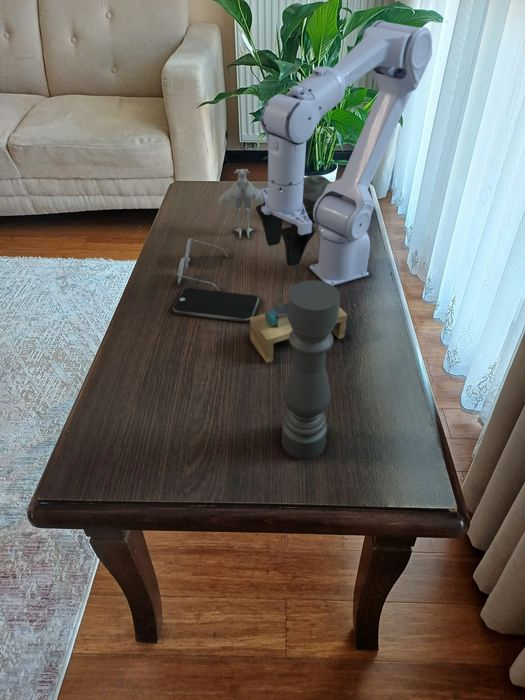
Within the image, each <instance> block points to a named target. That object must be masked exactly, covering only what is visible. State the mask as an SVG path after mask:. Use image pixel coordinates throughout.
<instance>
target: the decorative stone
mask: <svg viewBox="0 0 525 700" xmlns="http://www.w3.org/2000/svg"><path fill="white" fill-rule="evenodd" d="M329 183H332V182H331V181H330V180H329V179H328V178H327V177H325V176H322V175H318V174H312V175H308V176H306V177H305V176H304V187H303V204H304V207H305V210H306V213H307V215H308V218H309V219H310V220H311V221H314V219H313V209H314V206H315V203H316V202H317V200H318V199H319V198H320V197H321V195H322V194H323V192H324V191H325V188H326V186H327V185H328V184H329Z"/></svg>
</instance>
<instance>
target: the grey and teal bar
mask: <svg viewBox="0 0 525 700" xmlns="http://www.w3.org/2000/svg"><path fill="white" fill-rule="evenodd" d="M264 314H265V320H266V323H267V325H268V326H269V327H272V326H275V325H276V326H277V327H282V326H285V325H288V324H290V322H289V320H288V303H284V304H280V305H277V306H274V307H271V310H270V311H267V312H265V313H264Z"/></svg>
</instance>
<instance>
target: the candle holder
mask: <svg viewBox="0 0 525 700" xmlns="http://www.w3.org/2000/svg"><path fill="white" fill-rule="evenodd" d="M287 301H288V320H289V322H290V325H291V327H292V329H293V330H292V331H291V332H290V335H289V339H288V342H289V345H290V347H291V349H293V362H292V365H291V368H290V371H289V374H288V376H287V379H286V382H285V384H284V387H283V392H282V393H283V395H282V397H283V401H284V403H285V405H286V408H287V410H286V411H285V413H284V418H283V419H282V425H281V445H282V447H283V450H284V451H285V452H286V453H288V454H289V456H292V457H294V458H297V459H302V460H303V459H304V460H308V459H312V458H316V457H317V456H319V455H320V454H322V453H323V451H324V449H325V447H326V441H327V433H328V423H327V416H326V414H325V411H326V409H327V408H328V406H329V404H330V403H331V387H330V383H329V382H330V381H329V377H328V372H327V368H326V358H327V353H328V351H330V349H331V348H332V346H333V345H334V334H333V333H332V332H331V331H332V330H333V328H334V326H335V325H336V323H337V321H338V313H339V307H340V303H341V292H340V291H339V290H338V288H337V287H335V285H334V286H332V285H331V284H329V283H326V282H323V281H322V280H314V279H313V280H312V279H309V280H304V281H300V282H298V283H295V284H294V285H292V286H291V288H289V290H288V299H287Z"/></svg>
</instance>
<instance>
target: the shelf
mask: <svg viewBox="0 0 525 700" xmlns="http://www.w3.org/2000/svg"><path fill="white" fill-rule="evenodd" d="M347 318H348V314H347V313H346V311H345V310H343V309H342V308H341V307H340V306H339V313H338V321H337V323H336V325H335V326H334V328H333V330H332V331H331V334H332V335H333V336H335V337H336V338H337V340H341V339H344V338H345V333H346V327H347ZM249 328H250V331H249V333H250V335H249V336H250V342H251V343H252V345H253V347H254V348H255V349H256V350H257V352H258V353H259V355H260V356H261V357H262V358H263V360H264V362H265V363H266V364H268V363H272V362H274V344H276V343H279V342H282V341H287V340H289V335H290V332H291V331H292V330H293V329H292V327H291V325H290V324H288V325H285V326H282V327H277V326H276V325H275V326H272V327H269V326H268V325H267V323H266V320H265V313H261V314H257V315H254V316H253V317H251V318H250V321H249Z"/></svg>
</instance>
